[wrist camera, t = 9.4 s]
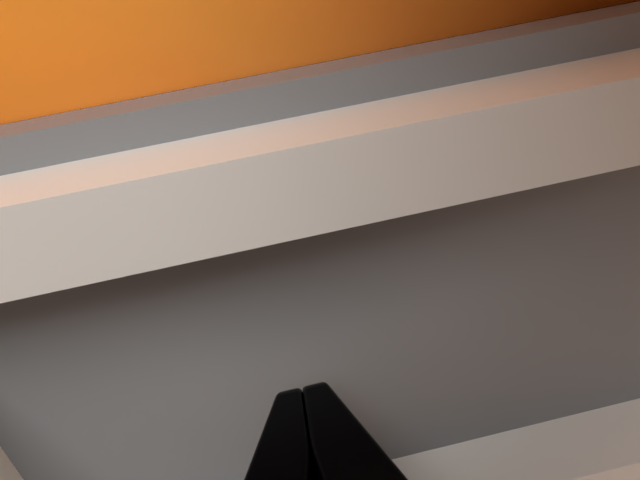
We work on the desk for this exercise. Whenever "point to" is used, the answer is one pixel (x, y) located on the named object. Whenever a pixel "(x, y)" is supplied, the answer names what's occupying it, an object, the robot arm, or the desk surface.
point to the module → (8, 468)
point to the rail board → (337, 262)
